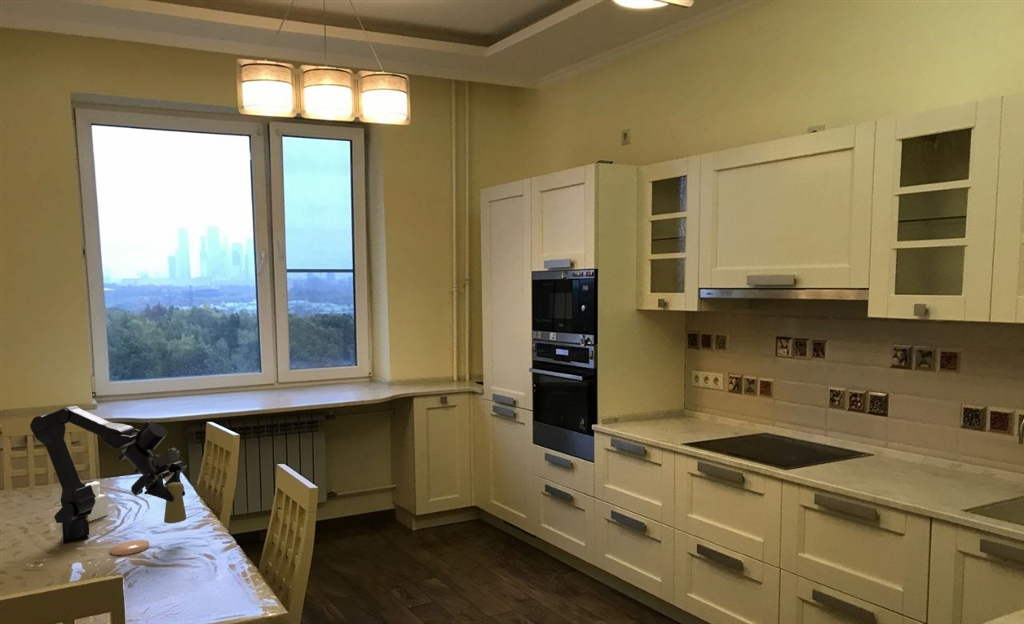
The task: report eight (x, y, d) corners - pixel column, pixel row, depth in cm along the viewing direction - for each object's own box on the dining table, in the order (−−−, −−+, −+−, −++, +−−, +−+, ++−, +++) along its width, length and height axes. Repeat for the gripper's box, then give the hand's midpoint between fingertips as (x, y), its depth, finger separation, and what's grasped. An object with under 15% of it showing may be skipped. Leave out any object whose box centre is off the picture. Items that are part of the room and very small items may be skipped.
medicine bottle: (72, 520, 229) (71, 484, 229) (93, 513, 236) (91, 478, 236) (88, 522, 227) (86, 486, 226) (108, 515, 233) (106, 480, 233)
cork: (177, 523, 203) (176, 486, 202) (159, 522, 204) (157, 485, 204) (191, 517, 209) (189, 480, 208) (173, 516, 210) (172, 479, 210)
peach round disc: (112, 558, 195) (112, 555, 195) (108, 548, 203) (107, 545, 203) (152, 549, 201) (152, 546, 201) (146, 540, 209) (146, 537, 209)
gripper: (139, 448, 197) (176, 488, 196) (180, 434, 215) (214, 471, 214) (114, 475, 198) (151, 515, 197) (157, 459, 217) (191, 495, 216)
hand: (178, 498), depth 206 cm, fingers closed on cork, 5 cm apart
